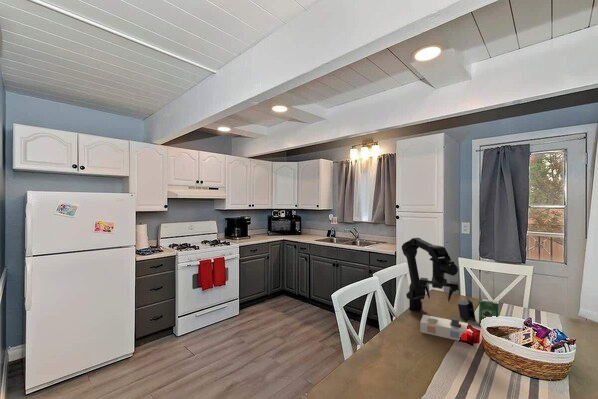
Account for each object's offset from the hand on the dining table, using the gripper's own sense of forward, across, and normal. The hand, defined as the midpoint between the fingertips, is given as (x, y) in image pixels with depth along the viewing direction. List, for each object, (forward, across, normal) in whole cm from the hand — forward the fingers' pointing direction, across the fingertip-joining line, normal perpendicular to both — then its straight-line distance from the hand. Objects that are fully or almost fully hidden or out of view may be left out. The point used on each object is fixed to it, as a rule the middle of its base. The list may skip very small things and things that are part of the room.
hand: (438, 299), depth 148 cm
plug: (+12, +8, -10) cm, 18 cm away
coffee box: (+13, +22, +8) cm, 27 cm away
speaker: (+13, +12, +14) cm, 22 cm away
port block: (+12, +3, -10) cm, 16 cm away
